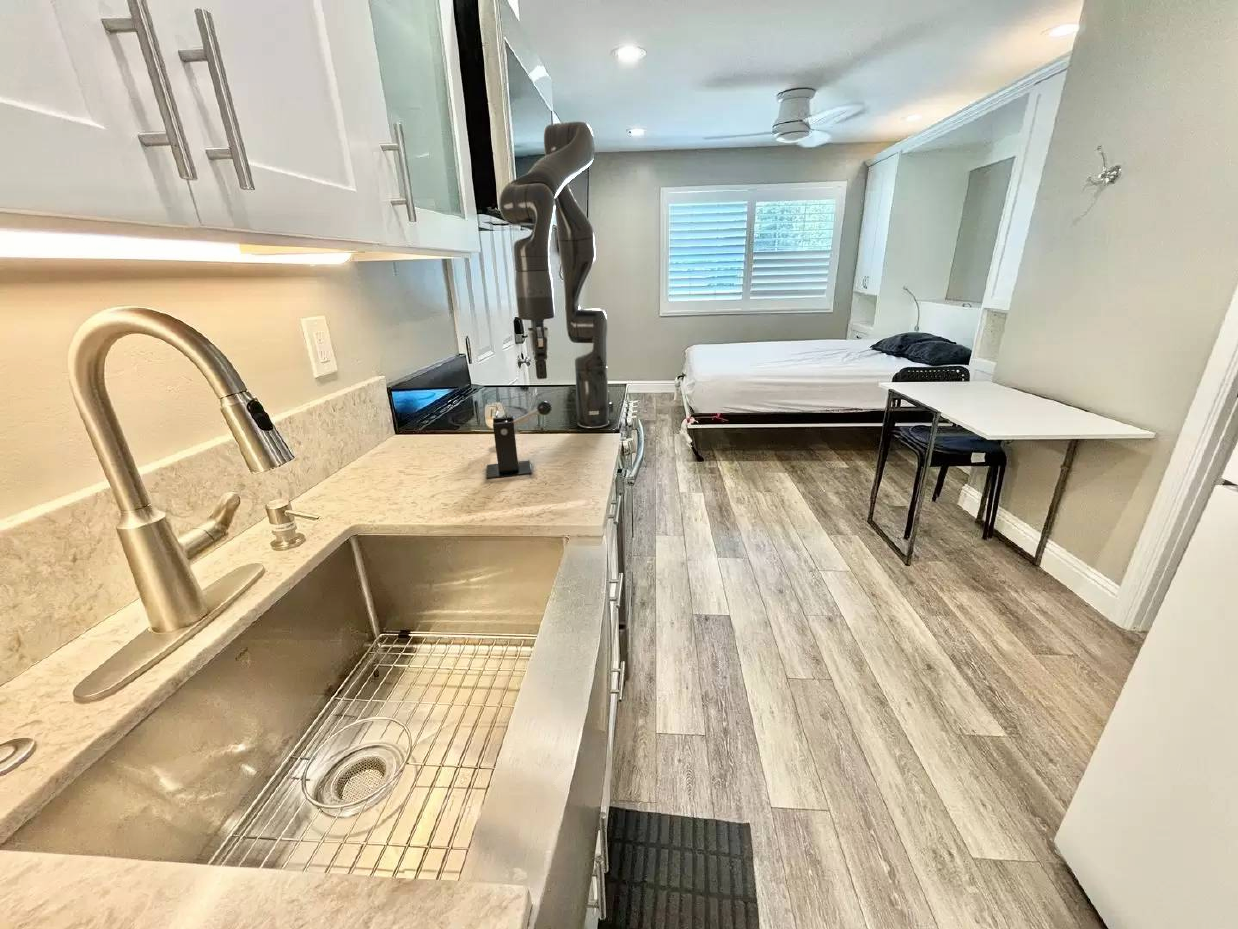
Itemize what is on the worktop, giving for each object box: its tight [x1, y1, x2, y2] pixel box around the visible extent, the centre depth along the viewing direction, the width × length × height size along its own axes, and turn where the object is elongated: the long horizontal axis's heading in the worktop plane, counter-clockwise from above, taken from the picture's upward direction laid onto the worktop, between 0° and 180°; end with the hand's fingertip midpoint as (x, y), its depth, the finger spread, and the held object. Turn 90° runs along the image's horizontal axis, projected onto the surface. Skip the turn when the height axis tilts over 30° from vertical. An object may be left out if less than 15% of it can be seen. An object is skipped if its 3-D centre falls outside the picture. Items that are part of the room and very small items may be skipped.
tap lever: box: [503, 400, 552, 427], centre depth 110 cm, size 13×3×3 cm, turn 102°
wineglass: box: [483, 401, 508, 430], centre depth 127 cm, size 6×6×12 cm
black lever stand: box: [485, 416, 533, 480], centre depth 111 cm, size 10×8×13 cm
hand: (541, 378), depth 107 cm, fingers closed
